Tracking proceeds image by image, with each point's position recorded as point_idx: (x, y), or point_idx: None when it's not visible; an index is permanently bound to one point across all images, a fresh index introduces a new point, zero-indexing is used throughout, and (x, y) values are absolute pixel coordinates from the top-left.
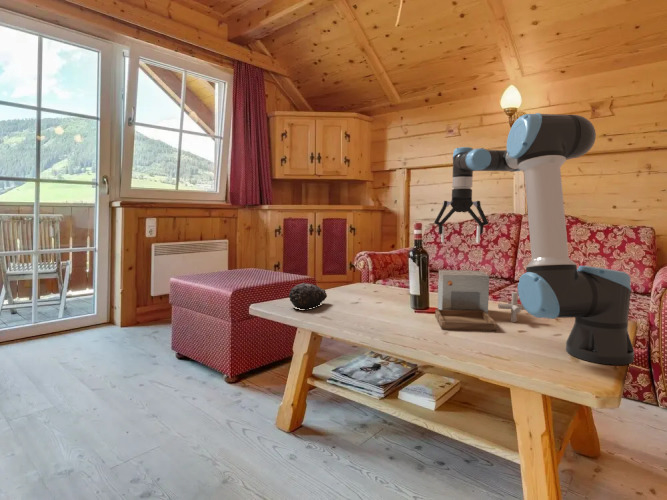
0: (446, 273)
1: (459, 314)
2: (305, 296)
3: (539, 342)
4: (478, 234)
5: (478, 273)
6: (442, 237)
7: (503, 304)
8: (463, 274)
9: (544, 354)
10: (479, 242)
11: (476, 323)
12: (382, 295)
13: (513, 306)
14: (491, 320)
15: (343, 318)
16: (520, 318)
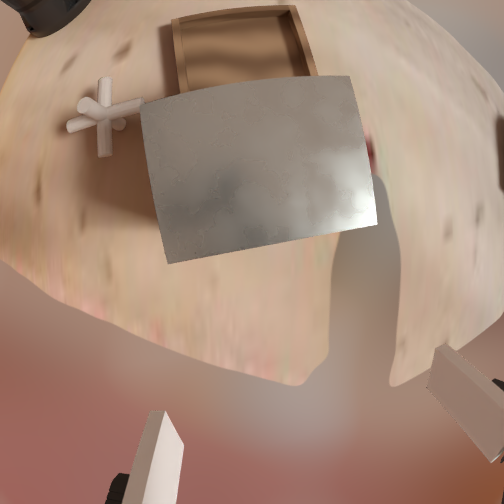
0: (339, 112)
1: None
2: None
3: (115, 8)
4: (146, 468)
5: (183, 154)
6: (467, 362)
7: (129, 101)
8: (259, 97)
9: None
10: (150, 413)
11: (217, 11)
12: (439, 312)
13: (107, 98)
14: (179, 37)
15: (463, 83)
16: (100, 161)
